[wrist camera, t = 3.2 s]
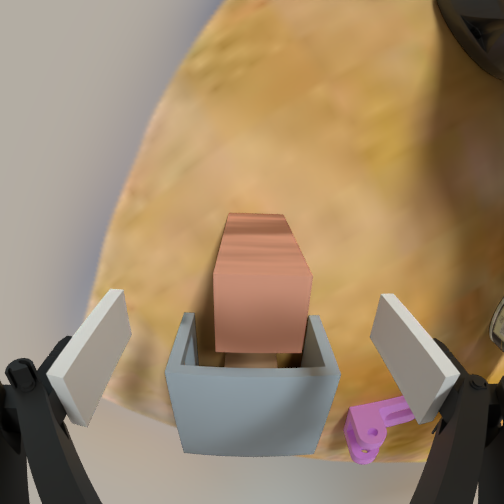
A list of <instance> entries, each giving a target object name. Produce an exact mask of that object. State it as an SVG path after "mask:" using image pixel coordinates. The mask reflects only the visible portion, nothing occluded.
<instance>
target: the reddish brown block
mask: <svg viewBox="0 0 504 504" xmlns="http://www.w3.org/2000/svg"><path fill="white" fill-rule="evenodd" d="M312 279H313V275H312V273H311V271H310V269H309V267H308V265H307V262H306V260H305V258H304V256H303V254H302V252H301V250H300V248H299V246H298V244H297V242H296V239H295V237H294V235H293V233H292V231H291V229H290V227H289V225H288V223H287V221H286V219H285V217H284V215H279V214H250V213H229V215H228V218H227V222H226V226H225V230H224V234H223V237H222V241H221V245H220V249H219V253H218V257H217V261H216V265H215V269H214V273H213V287H214V322H215V347H216V352H226V355H225V366H224V367H227V368H278V366H277V358H276V353H302V347H303V341H304V335H305V329H306V322H307V315H308V309H309V302H310V294H311V287H312Z"/></svg>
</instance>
